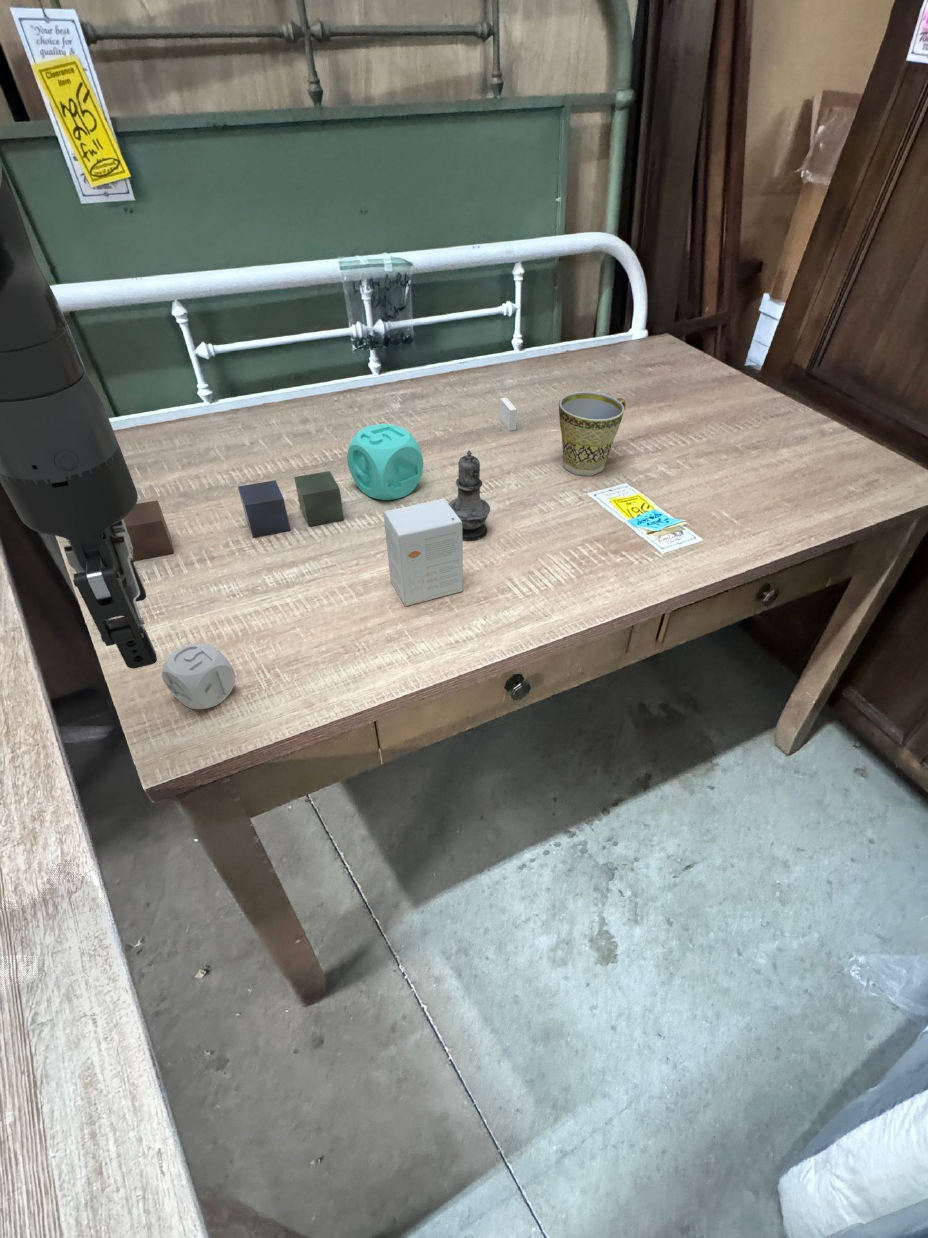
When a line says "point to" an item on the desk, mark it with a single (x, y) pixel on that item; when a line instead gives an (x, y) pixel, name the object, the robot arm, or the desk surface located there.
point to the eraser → (508, 414)
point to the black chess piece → (470, 499)
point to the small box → (424, 551)
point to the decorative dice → (385, 461)
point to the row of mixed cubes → (259, 506)
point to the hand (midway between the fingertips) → (138, 630)
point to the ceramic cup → (588, 430)
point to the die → (198, 675)
